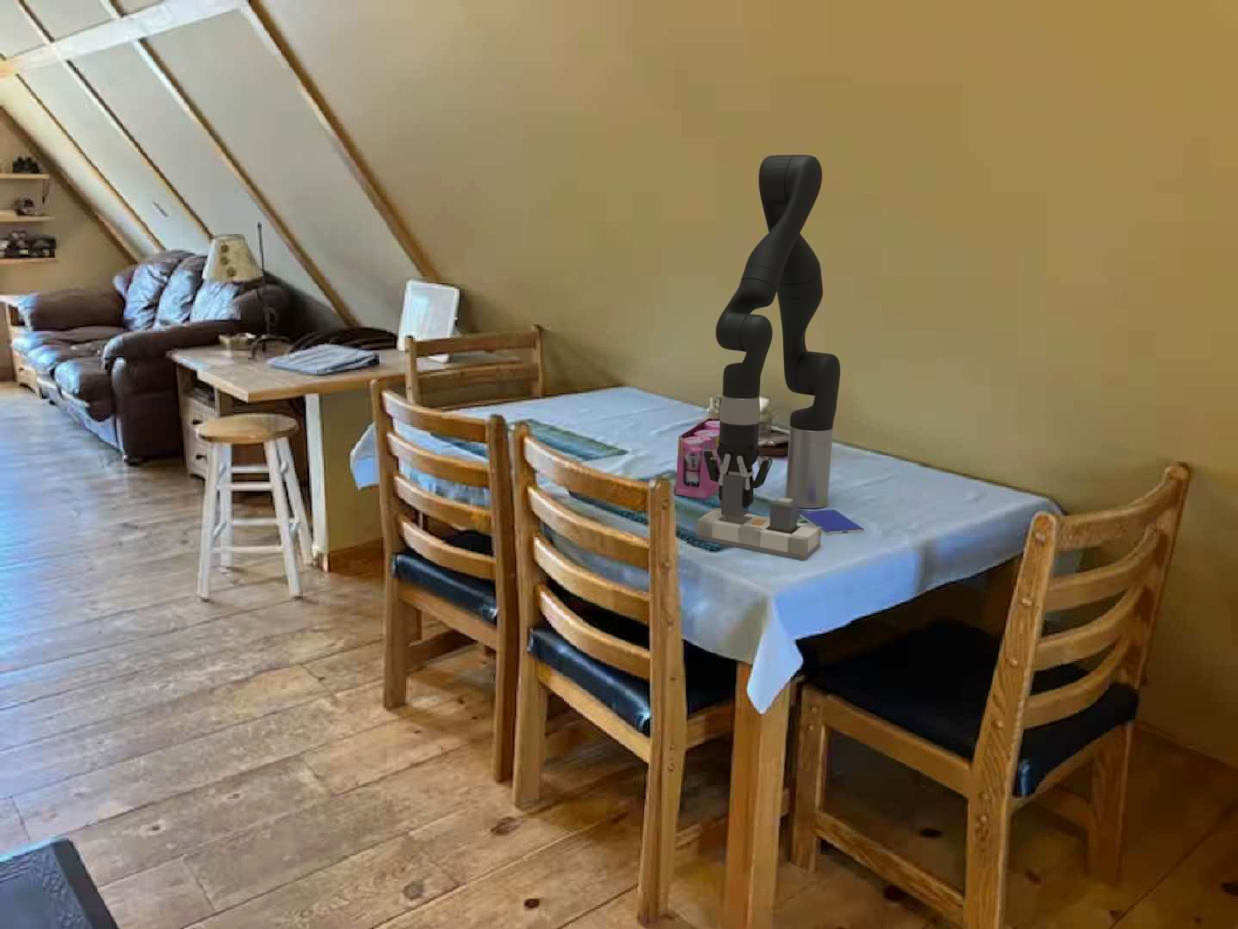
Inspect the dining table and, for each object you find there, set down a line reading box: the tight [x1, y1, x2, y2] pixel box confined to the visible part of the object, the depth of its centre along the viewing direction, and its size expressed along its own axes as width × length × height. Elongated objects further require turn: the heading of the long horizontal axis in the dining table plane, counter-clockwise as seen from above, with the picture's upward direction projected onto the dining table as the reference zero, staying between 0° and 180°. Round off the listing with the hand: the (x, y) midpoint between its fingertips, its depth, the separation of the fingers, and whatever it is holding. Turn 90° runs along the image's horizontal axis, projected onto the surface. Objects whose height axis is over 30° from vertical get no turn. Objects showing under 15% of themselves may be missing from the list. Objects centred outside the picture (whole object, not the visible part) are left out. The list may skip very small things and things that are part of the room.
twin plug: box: [769, 497, 799, 534], centre depth 189 cm, size 4×4×9 cm
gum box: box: [675, 417, 723, 500], centre depth 229 cm, size 24×8×14 cm, turn 156°
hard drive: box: [799, 509, 865, 536], centre depth 204 cm, size 2×8×12 cm
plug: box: [720, 470, 750, 518], centre depth 192 cm, size 4×4×9 cm
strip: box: [696, 507, 822, 561], centre depth 192 cm, size 22×9×4 cm, turn 60°
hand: (735, 504), depth 193 cm, fingers closed on plug, 4 cm apart
